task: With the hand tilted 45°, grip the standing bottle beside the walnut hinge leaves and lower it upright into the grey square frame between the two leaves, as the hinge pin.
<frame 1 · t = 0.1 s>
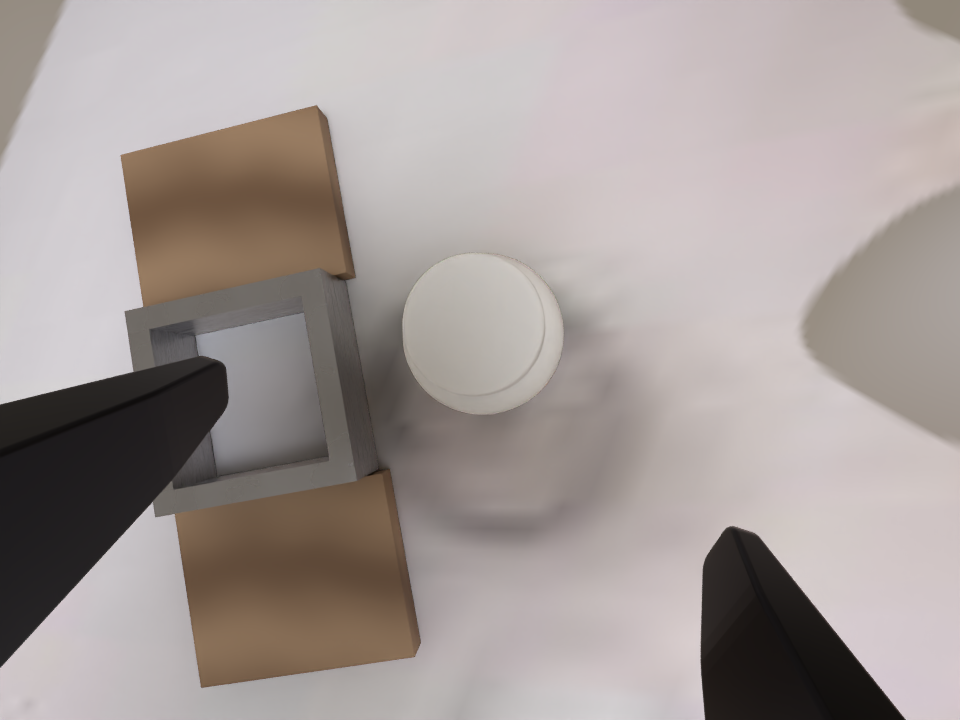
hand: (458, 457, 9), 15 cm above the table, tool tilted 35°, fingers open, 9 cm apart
hinge leaves: (272, 392, 25), on the table
grey square frame: (272, 392, 25), on the table
supplement bottle: (497, 347, 24), on the table
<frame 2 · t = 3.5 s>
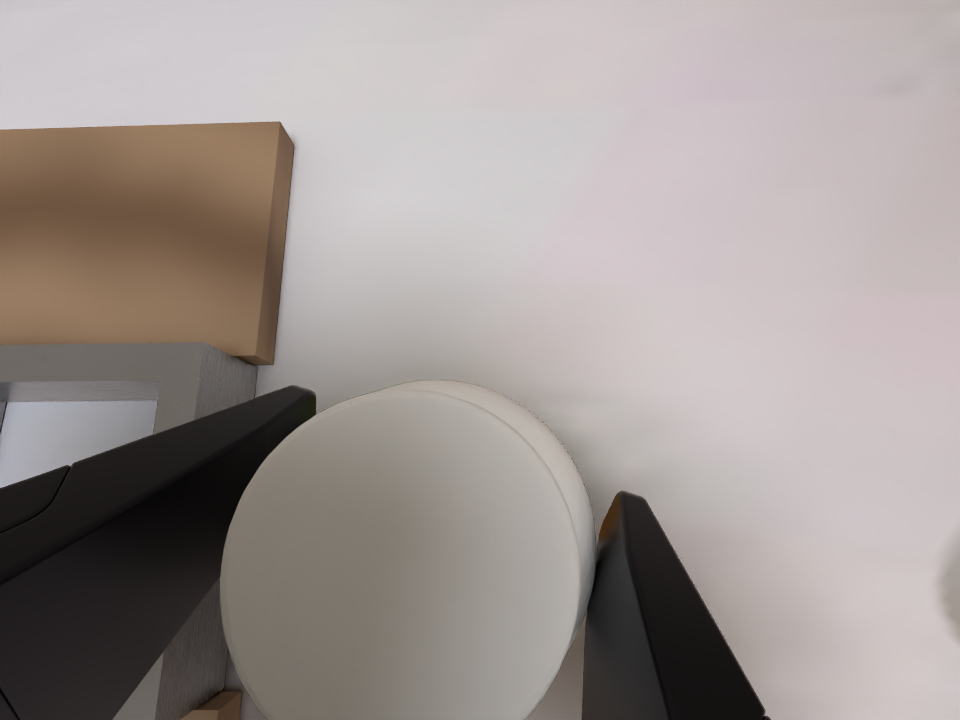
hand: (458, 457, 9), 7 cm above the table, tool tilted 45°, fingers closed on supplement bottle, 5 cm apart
hinge leaves: (93, 516, 15), on the table
grey square frame: (93, 516, 15), on the table
supplement bottle: (461, 515, 15), on the table, touching gripper
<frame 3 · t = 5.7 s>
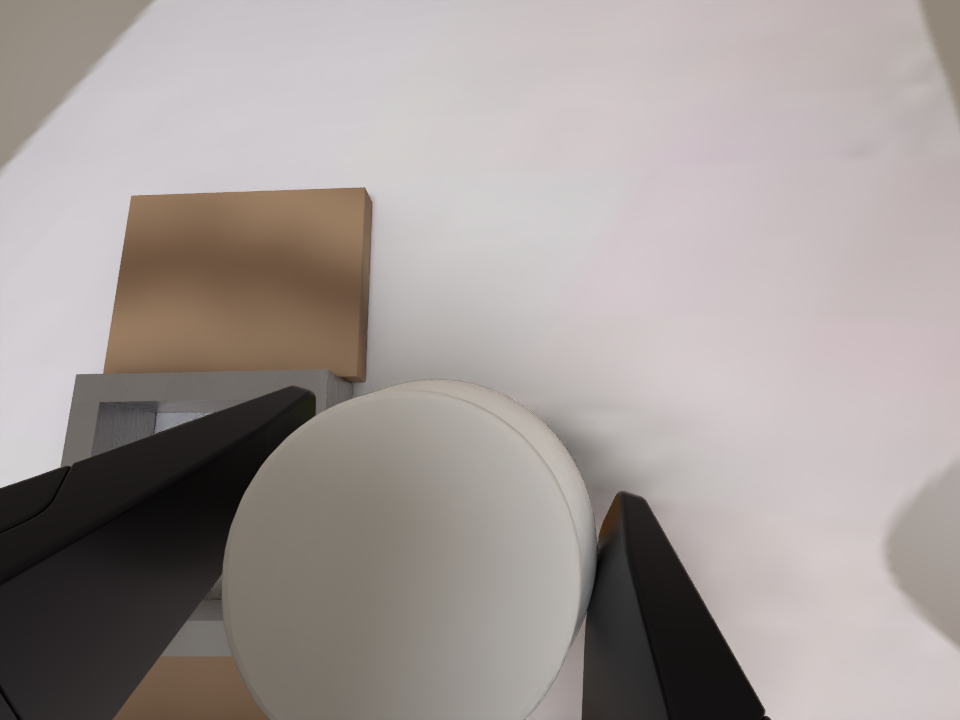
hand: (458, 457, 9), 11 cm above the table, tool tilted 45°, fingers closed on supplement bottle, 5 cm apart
hinge leaves: (232, 501, 20), on the table
grey square frame: (232, 501, 20), on the table
supplement bottle: (462, 514, 15), point 4 cm above the table, touching gripper
when the fingers open (8 cm above the table, at t = 8.2 s): supplement bottle drops 1 cm, resting in grey square frame.
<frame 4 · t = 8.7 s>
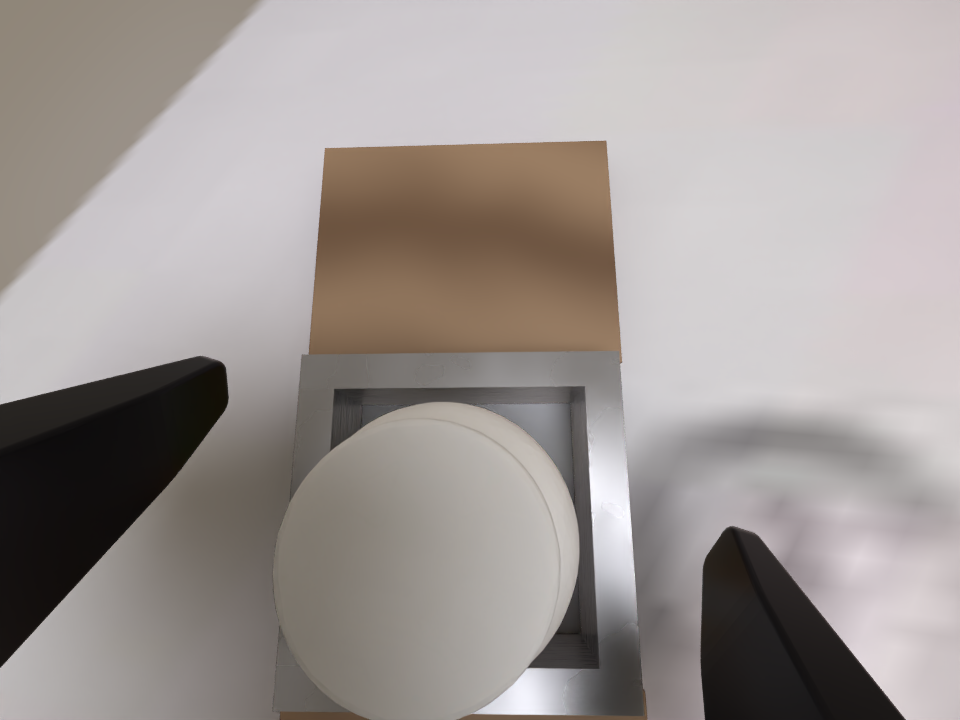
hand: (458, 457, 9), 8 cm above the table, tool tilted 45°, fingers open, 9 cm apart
hinge leaves: (465, 512, 16), on the table
grey square frame: (465, 512, 16), on the table
supplement bottle: (463, 517, 17), resting in grey square frame
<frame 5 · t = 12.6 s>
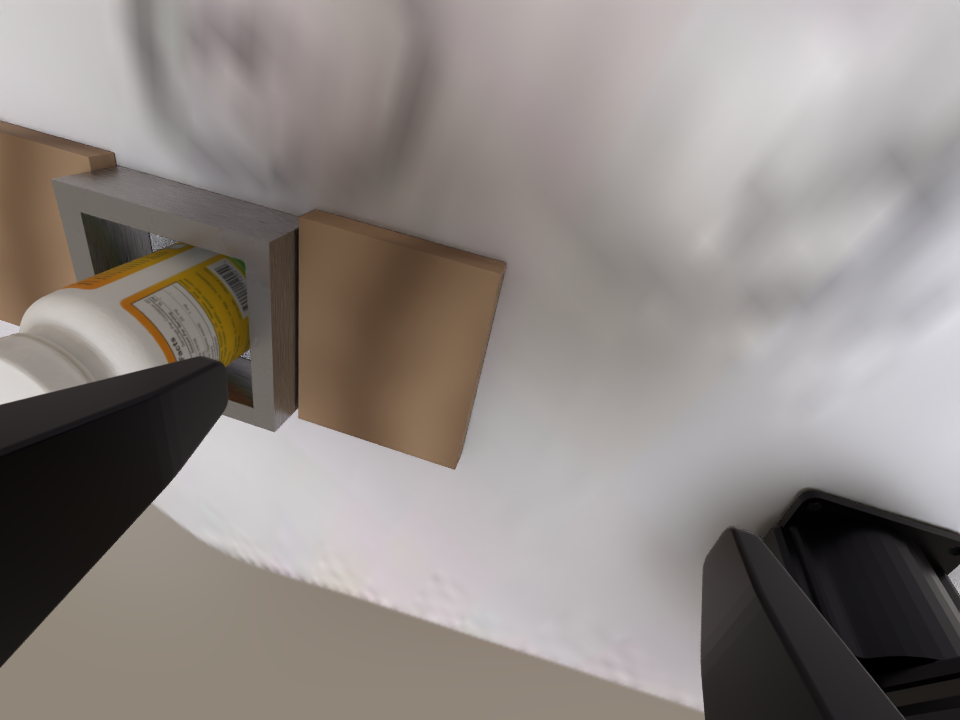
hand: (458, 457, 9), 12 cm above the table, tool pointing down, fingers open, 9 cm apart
hinge leaves: (221, 290, 24), on the table
grey square frame: (221, 290, 24), on the table
supplement bottle: (228, 290, 24), resting in grey square frame
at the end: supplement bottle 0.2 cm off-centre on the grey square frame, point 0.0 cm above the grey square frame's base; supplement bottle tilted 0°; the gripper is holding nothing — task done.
